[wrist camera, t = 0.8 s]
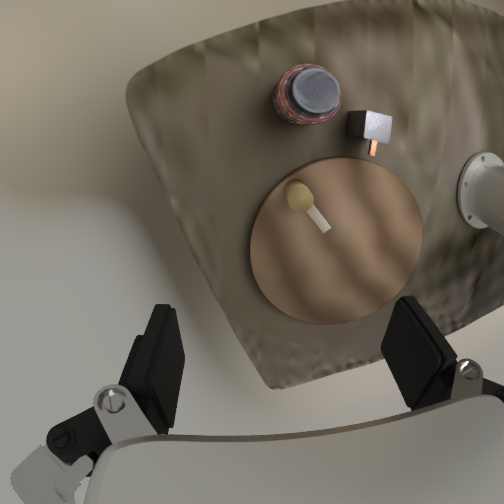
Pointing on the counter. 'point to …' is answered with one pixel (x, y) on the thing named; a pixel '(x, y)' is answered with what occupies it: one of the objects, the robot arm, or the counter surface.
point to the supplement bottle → (307, 95)
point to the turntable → (335, 240)
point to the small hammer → (370, 127)
